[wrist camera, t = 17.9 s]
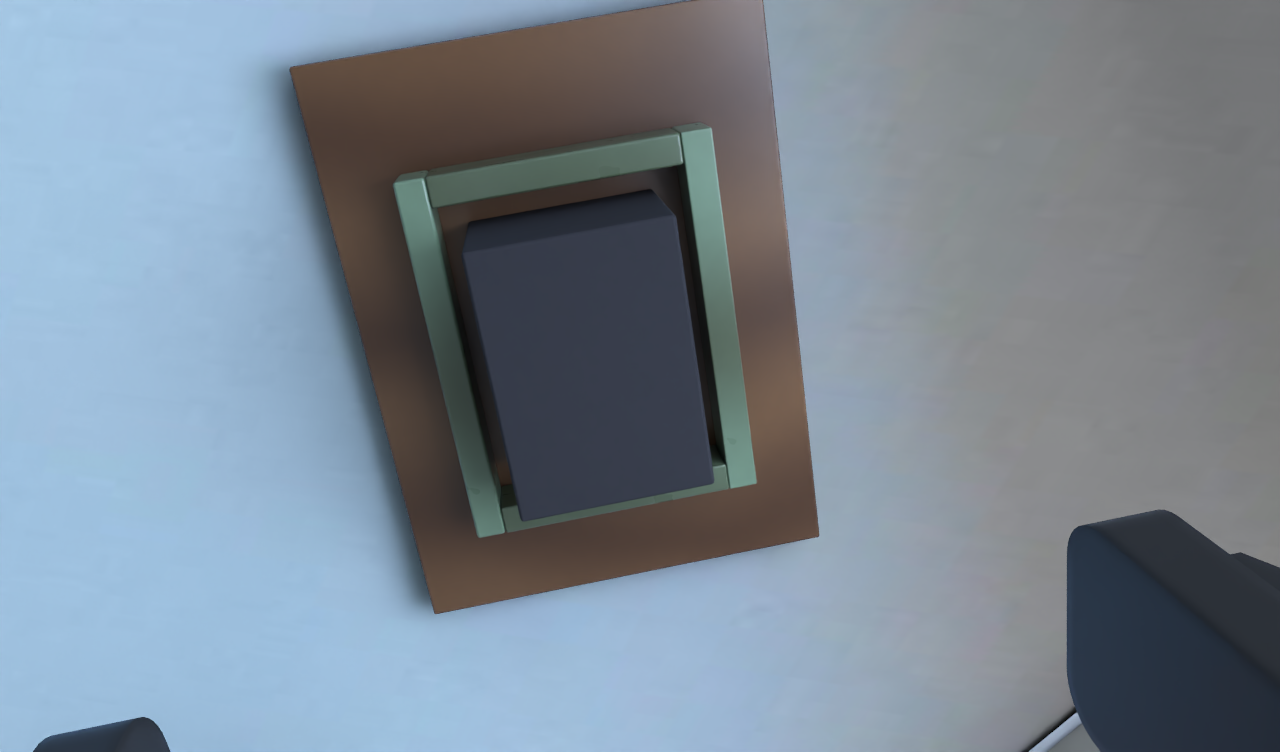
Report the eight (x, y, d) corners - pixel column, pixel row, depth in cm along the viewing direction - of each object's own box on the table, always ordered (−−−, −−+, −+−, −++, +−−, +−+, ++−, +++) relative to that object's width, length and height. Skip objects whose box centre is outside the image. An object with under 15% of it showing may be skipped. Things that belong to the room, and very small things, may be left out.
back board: (296, 65, 25) (274, 69, 23) (753, -10, 26) (777, -14, 24) (436, 597, 31) (430, 644, 29) (811, 521, 32) (834, 561, 29)
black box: (467, 221, 26) (460, 253, 22) (652, 187, 27) (676, 213, 23) (519, 458, 29) (521, 523, 25) (689, 425, 29) (715, 485, 25)
